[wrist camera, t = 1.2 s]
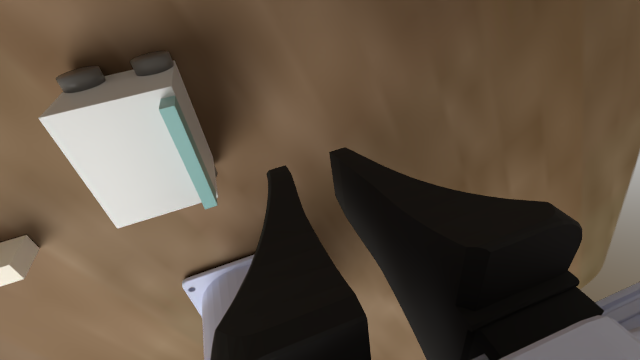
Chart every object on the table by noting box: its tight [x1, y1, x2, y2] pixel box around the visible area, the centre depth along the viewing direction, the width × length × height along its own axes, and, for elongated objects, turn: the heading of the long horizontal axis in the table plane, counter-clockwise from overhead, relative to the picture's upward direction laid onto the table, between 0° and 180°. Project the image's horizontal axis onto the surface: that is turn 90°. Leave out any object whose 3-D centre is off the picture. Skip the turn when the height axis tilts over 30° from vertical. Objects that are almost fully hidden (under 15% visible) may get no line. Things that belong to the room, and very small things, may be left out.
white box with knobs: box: [39, 51, 218, 228], centre depth 16 cm, size 7×5×6 cm
